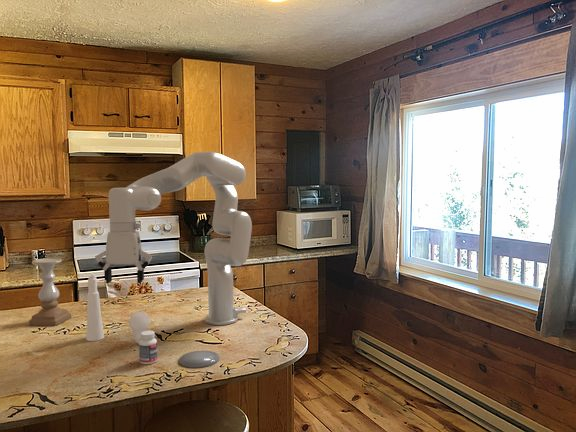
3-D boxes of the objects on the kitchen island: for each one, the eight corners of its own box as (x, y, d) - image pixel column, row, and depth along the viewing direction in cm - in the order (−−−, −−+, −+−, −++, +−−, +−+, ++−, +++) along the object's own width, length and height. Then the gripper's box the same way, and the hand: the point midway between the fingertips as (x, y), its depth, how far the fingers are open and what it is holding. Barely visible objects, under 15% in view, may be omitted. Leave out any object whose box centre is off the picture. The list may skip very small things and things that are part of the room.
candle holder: (71, 317, 191) (68, 257, 188) (55, 326, 180) (52, 263, 177) (45, 316, 192) (42, 257, 189) (28, 325, 181) (24, 262, 178)
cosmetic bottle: (81, 340, 165) (78, 276, 163) (94, 334, 170) (91, 273, 168) (96, 342, 163) (92, 278, 161) (108, 336, 168) (105, 274, 166)
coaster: (212, 349, 155) (212, 347, 155) (224, 363, 144) (224, 361, 144) (175, 356, 150) (175, 354, 150) (184, 370, 139) (184, 368, 139)
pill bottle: (152, 365, 143) (151, 336, 142) (136, 364, 144) (135, 335, 143) (160, 358, 148) (159, 330, 147) (145, 357, 149) (143, 329, 148)
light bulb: (139, 349, 156) (137, 316, 155) (125, 345, 160) (124, 312, 158) (154, 342, 162) (153, 310, 161) (141, 339, 165) (139, 307, 164)
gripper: (154, 226, 153) (155, 279, 154) (99, 226, 153) (101, 279, 154) (147, 229, 145) (149, 285, 147) (89, 229, 145) (91, 285, 147)
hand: (124, 282), depth 150 cm, fingers open, 9 cm apart
